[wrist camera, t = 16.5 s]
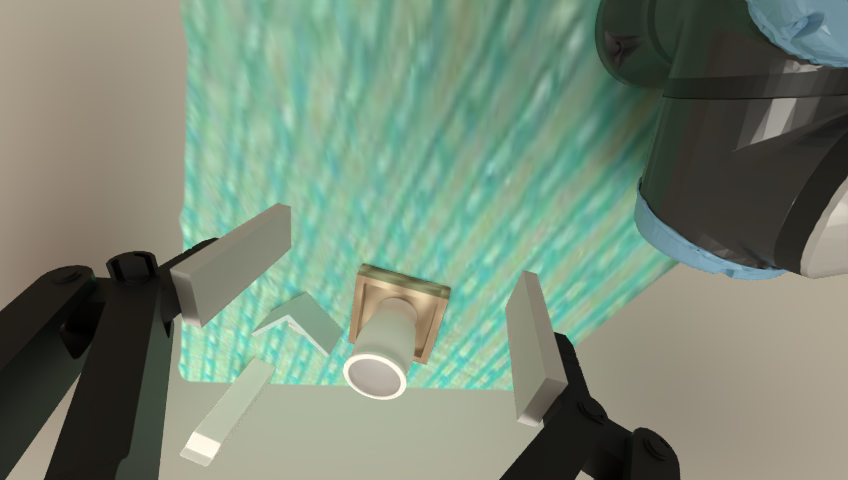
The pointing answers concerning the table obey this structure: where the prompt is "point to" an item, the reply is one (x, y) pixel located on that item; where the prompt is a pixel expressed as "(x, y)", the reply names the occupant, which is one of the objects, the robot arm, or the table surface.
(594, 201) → the table surface
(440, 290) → the wooden tray
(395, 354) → the jar
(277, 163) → the table surface
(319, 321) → the l-shaped corner panel
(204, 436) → the milk
